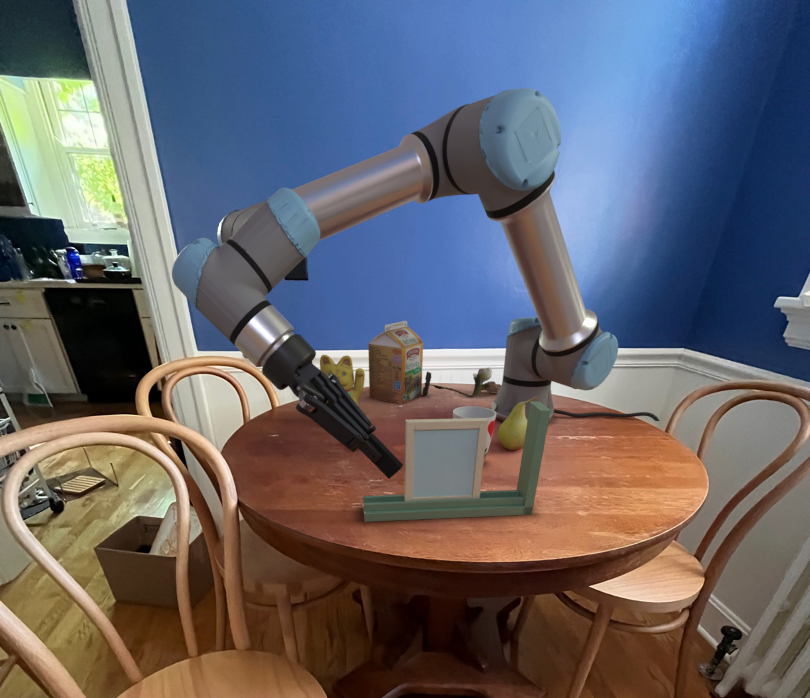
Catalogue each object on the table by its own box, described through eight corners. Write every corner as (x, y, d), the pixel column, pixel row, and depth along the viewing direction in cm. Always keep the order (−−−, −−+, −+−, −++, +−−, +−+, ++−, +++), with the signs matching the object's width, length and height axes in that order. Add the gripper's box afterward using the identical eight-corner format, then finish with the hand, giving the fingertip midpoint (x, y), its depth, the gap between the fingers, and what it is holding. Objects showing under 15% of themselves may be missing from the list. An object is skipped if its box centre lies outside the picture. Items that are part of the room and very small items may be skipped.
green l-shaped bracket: (523, 502, 81) (539, 401, 72) (532, 514, 77) (550, 410, 68) (363, 508, 78) (359, 404, 69) (364, 522, 74) (360, 414, 65)
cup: (464, 472, 90) (468, 421, 85) (441, 458, 97) (444, 408, 91) (498, 465, 94) (505, 415, 88) (475, 451, 100) (479, 403, 94)
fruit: (508, 440, 106) (516, 385, 99) (537, 450, 101) (547, 392, 95) (490, 448, 102) (496, 391, 95) (520, 458, 97) (529, 399, 91)
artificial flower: (420, 395, 140) (425, 359, 137) (496, 406, 141) (502, 371, 138) (421, 395, 131) (427, 356, 129) (501, 407, 132) (508, 369, 130)
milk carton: (401, 403, 128) (402, 327, 118) (369, 397, 133) (367, 323, 123) (421, 395, 136) (423, 322, 126) (390, 389, 141) (390, 318, 130)
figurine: (317, 425, 112) (311, 358, 104) (321, 414, 119) (316, 351, 111) (365, 425, 113) (363, 359, 105) (366, 414, 120) (364, 351, 112)
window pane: (477, 498, 77) (486, 417, 70) (479, 502, 76) (488, 420, 69) (404, 501, 76) (405, 419, 69) (404, 505, 75) (406, 422, 68)
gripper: (280, 360, 73) (387, 469, 80) (242, 381, 62) (369, 505, 69) (310, 324, 70) (419, 441, 76) (275, 339, 59) (406, 474, 66)
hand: (395, 471), depth 73 cm, fingers closed
